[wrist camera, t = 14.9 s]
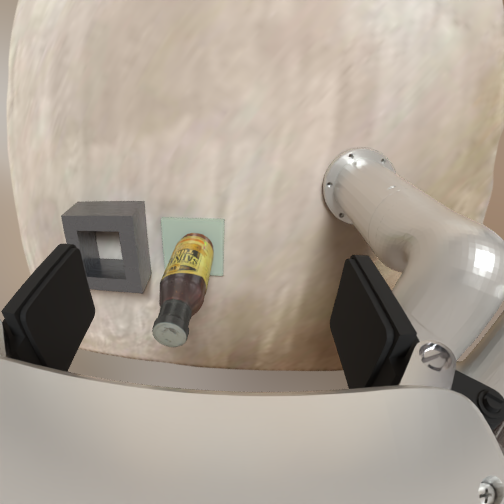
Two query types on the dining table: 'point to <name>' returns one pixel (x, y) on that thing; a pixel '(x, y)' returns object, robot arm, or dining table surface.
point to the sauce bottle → (183, 288)
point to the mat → (182, 226)
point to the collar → (131, 239)
